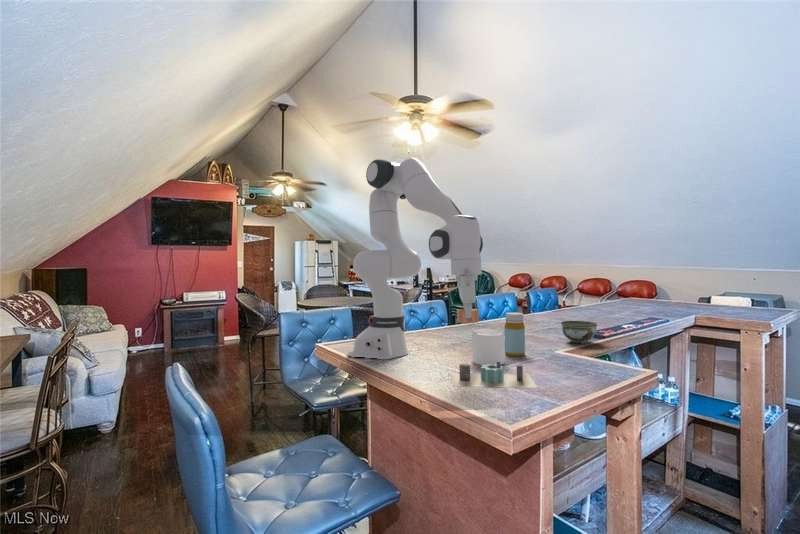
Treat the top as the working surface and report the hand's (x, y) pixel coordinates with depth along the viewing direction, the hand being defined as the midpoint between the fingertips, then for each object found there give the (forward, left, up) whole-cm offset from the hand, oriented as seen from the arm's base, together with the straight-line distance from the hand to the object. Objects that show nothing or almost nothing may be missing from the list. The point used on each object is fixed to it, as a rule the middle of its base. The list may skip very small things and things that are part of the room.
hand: (467, 316), depth 114 cm
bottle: (+18, +28, -18) cm, 38 cm away
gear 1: (0, 0, -2) cm, 2 cm away
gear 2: (+6, -6, -17) cm, 19 cm away
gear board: (+6, -6, -18) cm, 20 cm away
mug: (+7, +15, -18) cm, 25 cm away
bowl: (+47, +49, -18) cm, 71 cm away
